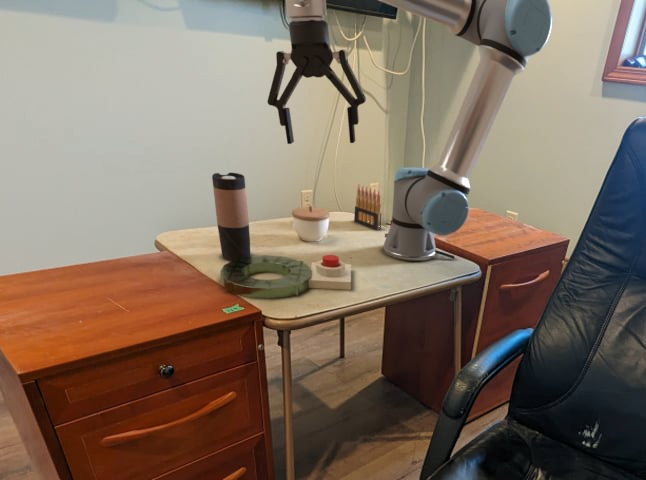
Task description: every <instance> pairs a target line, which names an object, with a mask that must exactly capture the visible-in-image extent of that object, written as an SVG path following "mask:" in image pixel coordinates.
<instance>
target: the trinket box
mask: <svg viewBox="0 0 646 480" xmlns="http://www.w3.org/2000/svg"><path fill="white" fill-rule="evenodd" d="M291 217H292V218H291V219H292V225H293V228H294V231H295V233H296V234H297V236H298V237H299V238H300V239H301V240H302V241H304V242H309V243H312V242H313V243H315V242H320V241H322V239H323V238H324V237H325V236H326V234H327V233H328V230H329V224H330V212H329V210H327V209H325V208H321V207H316V206H313V205H308V206H299V207H295V208H293V209H292V210H291Z"/></svg>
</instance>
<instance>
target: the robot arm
mask: <svg viewBox="0 0 646 480" xmlns="http://www.w3.org/2000/svg"><path fill="white" fill-rule="evenodd" d="M284 1H285V7H286V15H287V18H289V19H290V21H289V24H288V31H289V38H290V45H291V50H290V52H285V51H284V50H279V51H277V52H276V53H275V57H276V67H275V70H274V75H273V78H272V81H271V85H270V90H269V94H268V97H267V104H268V105H269V106H272V107H275V108H276V110H277V113H278V119H279V124H280V126H281V127H284V129H285V135H286V143H287V145H291V144H293V143H294V142H295V138H294V132H293V131H294V130H293V123H292V117H291V110H290V107H286V105H287V103H288V101H289V100H290V98H291V96H292V95H293V93H294V91H295V89H296V87H297V86H298V84H299V82H300V81H301V79H302V78H303V77H304V78H306V79H307V78H309V79H311V78H312V77H314V78H323V77H326V79H327V80H329V81H330V83H331V84H332V85H333V87H335V89H336V90H337V91H338V92H339V93H340V95H341V96H342V97H343V98H344V100H345V101H346V102H347V103H348V104H349V106H348V107H347V108H346V110H347V112H346V113H347V122H348V137H349V143H350V144H354V143H356V130H355V126H357V125H358V124H359V122H360V118H359V106H361V105H362V104H365V102H366V100H367V98H366V95H365V93H364V91H363V89H362V87H361V85H360V83H359V81H358V78H357V76H356V75H355V72H354V71H353V69H352V67H351V64H350V63H349V59H348V52H347V50H346V49H339V50H337V51H332V49H331V43H330V42H331V41H330V33H329V31H330V30H329V23H328V22H327V20H326V21H325V18H327V16H328V12H327V11H328V10H327V0H284ZM377 1H379V2H381V3H384V4H386V5H388V6H391V7H394V8H397V9H400V10H402V11H405V12H407V13H410V14H413V15H416V16H418V17H421V18H422V19H426V20H428V21H431V22H433V23H437V24H439V25H442V26H444V27H447V29H448V31H449V33H450V34H451V35H453V36H455V37H458V38H461V39H463V40H466V41H467V42H468V43H469V42H470V43H471V44H473V45H476V46H478V47H477V50H478V54H479V62H478V64H477V67H476V69H475V71H474V74H473V76H472V79H471V81H470V83H469V86H468V88H467V90H466V94H465V96H464V97H463V101H462V103H461V105H460V108H459V110H458V113H457V115H456V117H455V120H454V123H453V125H452V127H451V130H450V132H449V135H448V137H447V140H446V141H445V144H444V147H443V150H442V151H441V154H440V157H439V159H438V161H437V163H436V164H434V165H433V166H431V167H429V168H426V167H400V168H398V169H397V170H396V171H395V175H394V180H393V198H392V215H391V225H390V227H389V230H388V233H384V238H385V240H384V244H383V252H384V253H385V254H386V255H388V256H389V257H391V258H394V259H396V260H401V261H408V262H424V261H428V260H432V259H433V258H435V257H436V254H437V255H441V256H445V257H447V258H451V259H455V255H453V254H450V253H446V252H444V251H440V250H437V246H436V241H435V237H434V235H436V236H440V237H441V236H442V237H443V236H449V235H452V234H454V233H456V232H457V231H458V230H460V229H461V228H462V227H463V225H464V224H465V222H466V221H467V218H468V216H469V211H470V207H469V201H468V199H467V198H468V196H469V193H470V191H471V188H472V187H471V184H470V180H469V179H470V177H471V174H472V172H473V169H474V168H475V165H476V163H477V160H478V158H479V156H480V155H481V154H480V153H481V151H482V149H483V147H484V144H485V143H486V140H487V138H488V136H489V134H490V131H491V128H492V126H493V125H494V122H495V120H496V117H497V115H498V113H499V110H500V108H501V106H502V104H503V101H504V99H505V97H506V95H507V92H508V91H509V88H510V86H511V84H512V81H513V79H514V77H515V76H516V75H518V74H520V73H523V72H524V70H525V69H526V65H527V63H528V61H529V59H530V57H531V56H533V55H536V54H537V53H539V52H540V51H542V49H543V48H544V47H545V46H546V44H547V42H548V40H549V37H550V34H551V32H552V25H553V24H552V23H553V16H552V13H551V12H552V11H551V5H550V3H549V1H548V0H377ZM334 59H335V61H336V63H337V64H339V65H340V67H341V68H342V71H343V73H344V75H345V77H346V79H347V81H348V83H349V85H350V87H351V89H352V91H353V92H354V95H355V96H356V97H354V95H353V93H351V91H350V90H349V89H348V88H347V87H346V85H345V84H344V83H343V82H342V80H341V79H340V78H339V77H338V75H337V74H336V72H335V71H334V70H333V68H332V67H331V65H332V63H333V61H334ZM290 60H291V62H292V64H293V65H294V66H295V70H293V73H292V75H291V78H290V80H289V81H288V83H287V85H286V86H285V88H284V90H283V91H282V94H281V96H280V97H279V94H280V89H281V86H282V82H283V78H284V75H285V71H286V66H287V65H289V63H290ZM278 97H279V99H278Z"/></svg>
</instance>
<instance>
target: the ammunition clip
mask: <svg viewBox="0 0 646 480" xmlns="http://www.w3.org/2000/svg"><path fill="white" fill-rule="evenodd" d="M356 189H357V190H356V198H355V206H354V218H353V222H354V223H356V224H359V225H361V226H364V227H367V228H368V229H369V228H370V229H372V230H375V231H380V230H382V211H381V210H382V209H381V208H382V204H381V197H382V196H381V191H380V190H378V191H377V190H376V188H374V189H372V187H370V188H368V186H366V187H365V186H364V185H362V186H361V185H360V183H359V184H358V185H357V188H356ZM368 221H369V222H368ZM379 226H380V227H379Z"/></svg>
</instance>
